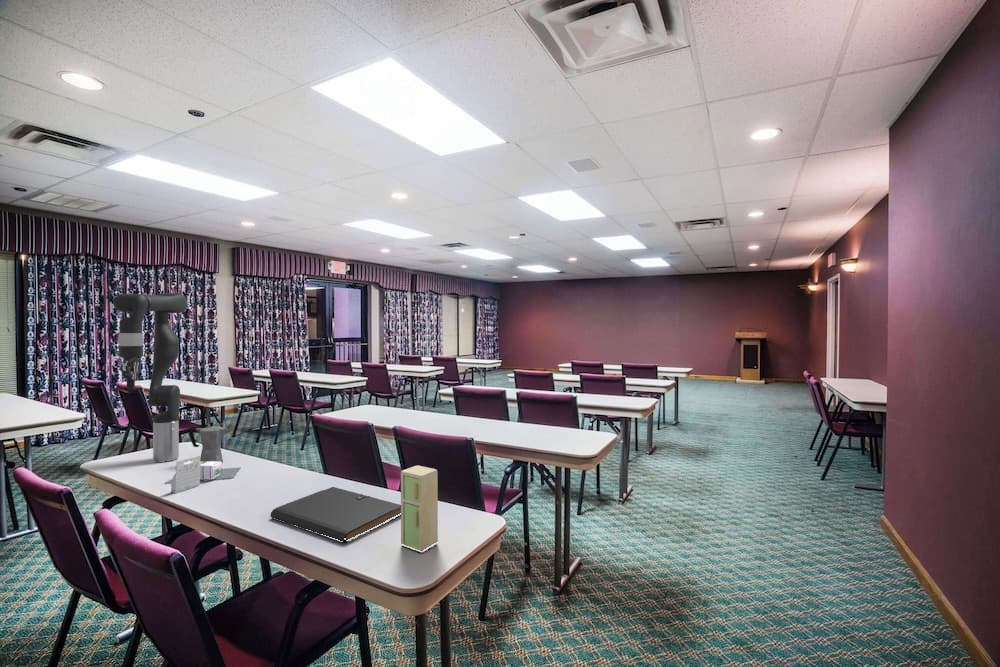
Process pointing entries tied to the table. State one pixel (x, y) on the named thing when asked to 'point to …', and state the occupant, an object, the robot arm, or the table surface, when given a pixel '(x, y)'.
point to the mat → (226, 473)
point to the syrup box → (209, 469)
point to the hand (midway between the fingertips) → (130, 388)
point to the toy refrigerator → (419, 507)
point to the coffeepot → (209, 442)
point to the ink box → (186, 475)
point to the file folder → (337, 513)
